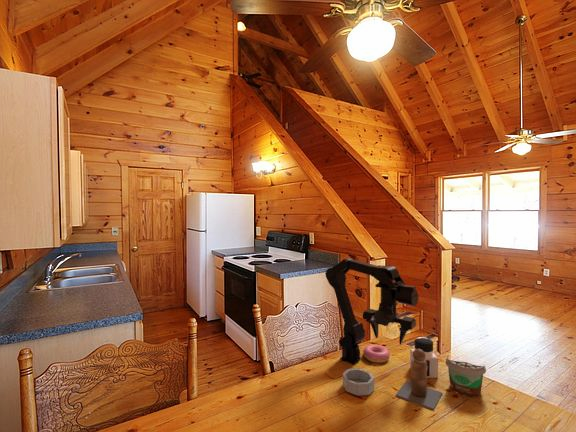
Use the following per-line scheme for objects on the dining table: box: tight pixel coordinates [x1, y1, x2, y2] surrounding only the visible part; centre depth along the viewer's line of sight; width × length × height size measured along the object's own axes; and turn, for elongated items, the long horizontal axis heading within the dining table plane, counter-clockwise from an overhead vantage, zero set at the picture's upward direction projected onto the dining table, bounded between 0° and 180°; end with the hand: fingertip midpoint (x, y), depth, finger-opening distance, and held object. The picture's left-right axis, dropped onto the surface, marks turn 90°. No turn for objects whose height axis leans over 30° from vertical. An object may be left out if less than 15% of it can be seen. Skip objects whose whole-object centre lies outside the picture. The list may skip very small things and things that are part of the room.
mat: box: [395, 380, 443, 411], centre depth 106 cm, size 12×11×1 cm
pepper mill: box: [410, 348, 428, 398], centre depth 105 cm, size 5×5×15 cm
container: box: [409, 336, 439, 379], centre depth 120 cm, size 8×8×13 cm
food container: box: [445, 356, 487, 398], centre depth 106 cm, size 12×6×10 cm, turn 62°
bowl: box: [342, 368, 375, 396], centre depth 110 cm, size 10×10×4 cm
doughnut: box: [362, 344, 391, 364], centre depth 132 cm, size 11×11×4 cm
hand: (388, 341), depth 118 cm, fingers open, 9 cm apart
